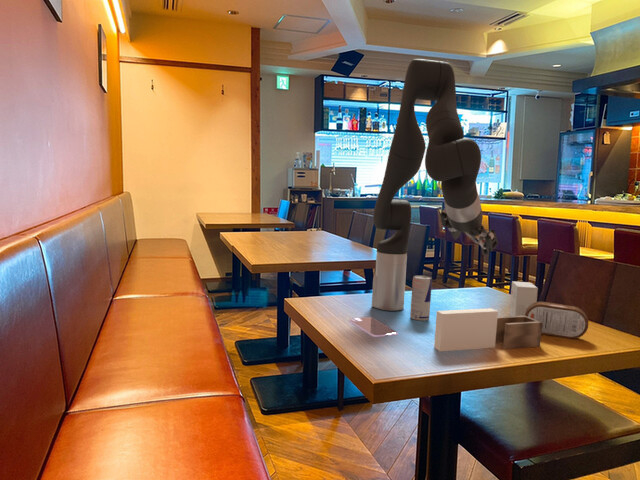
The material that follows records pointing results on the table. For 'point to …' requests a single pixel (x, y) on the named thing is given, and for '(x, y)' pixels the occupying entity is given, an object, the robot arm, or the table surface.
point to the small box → (522, 297)
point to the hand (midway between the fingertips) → (471, 244)
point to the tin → (559, 319)
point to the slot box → (518, 331)
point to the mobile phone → (373, 327)
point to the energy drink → (421, 298)
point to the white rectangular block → (465, 329)
